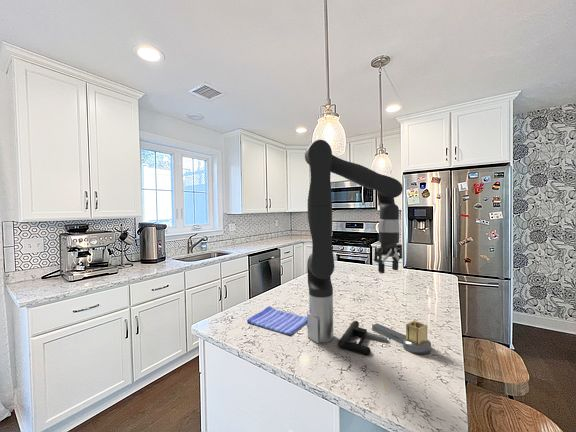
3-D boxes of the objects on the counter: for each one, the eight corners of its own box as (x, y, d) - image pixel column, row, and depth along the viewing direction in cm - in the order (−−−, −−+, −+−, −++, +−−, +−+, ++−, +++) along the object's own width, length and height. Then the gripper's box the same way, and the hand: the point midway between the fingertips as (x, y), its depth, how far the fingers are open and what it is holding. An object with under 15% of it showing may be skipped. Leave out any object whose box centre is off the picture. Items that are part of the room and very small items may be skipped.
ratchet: (422, 358, 88) (422, 337, 88) (367, 332, 107) (367, 315, 107) (436, 349, 94) (436, 329, 93) (381, 326, 112) (381, 309, 112)
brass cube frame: (419, 346, 91) (419, 329, 91) (406, 340, 95) (406, 324, 95) (427, 342, 94) (427, 325, 94) (414, 336, 98) (414, 320, 98)
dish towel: (268, 310, 132) (268, 305, 132) (311, 321, 119) (310, 315, 119) (245, 323, 118) (245, 317, 118) (290, 337, 105) (290, 330, 105)
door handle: (390, 329, 105) (350, 318, 113) (380, 354, 88) (334, 339, 96) (389, 337, 105) (349, 326, 113) (379, 363, 88) (333, 348, 96)
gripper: (392, 229, 112) (391, 267, 113) (369, 230, 104) (368, 271, 105) (408, 230, 106) (407, 270, 106) (385, 232, 98) (384, 276, 99)
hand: (388, 271), depth 106 cm, fingers open, 8 cm apart
